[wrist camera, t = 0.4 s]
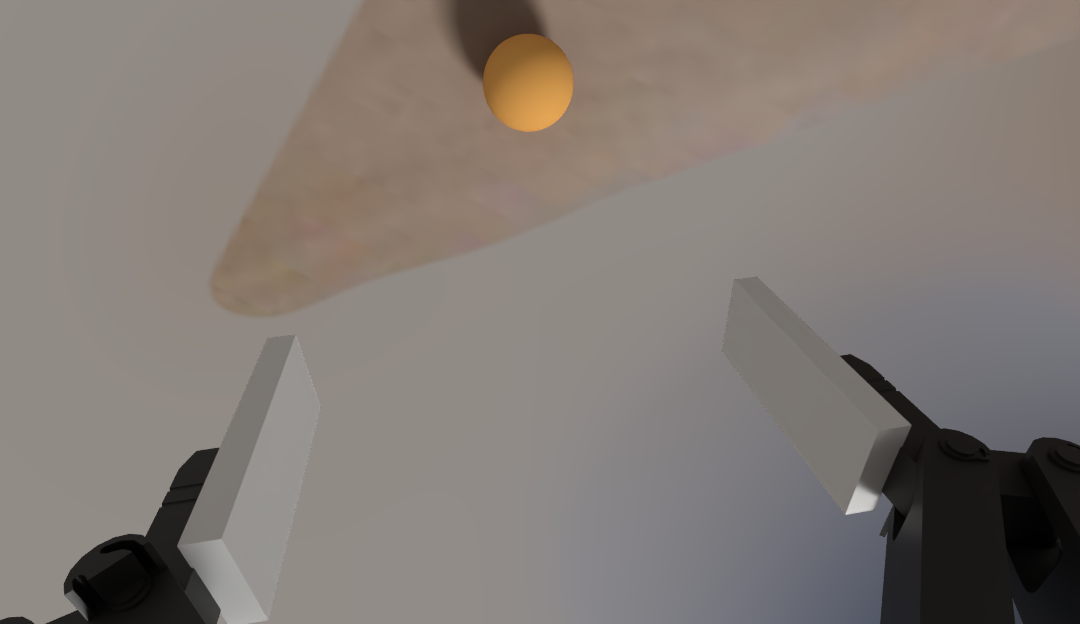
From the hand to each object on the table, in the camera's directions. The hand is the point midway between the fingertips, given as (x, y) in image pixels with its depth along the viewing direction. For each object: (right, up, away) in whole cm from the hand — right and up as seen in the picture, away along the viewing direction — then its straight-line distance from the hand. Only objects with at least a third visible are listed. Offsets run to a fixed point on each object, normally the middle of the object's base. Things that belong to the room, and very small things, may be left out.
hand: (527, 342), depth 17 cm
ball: (0, +15, +17) cm, 22 cm away
